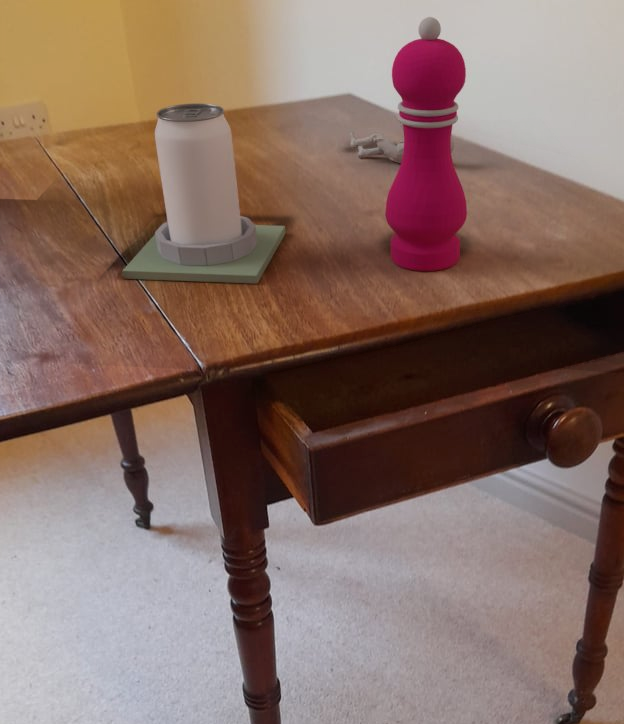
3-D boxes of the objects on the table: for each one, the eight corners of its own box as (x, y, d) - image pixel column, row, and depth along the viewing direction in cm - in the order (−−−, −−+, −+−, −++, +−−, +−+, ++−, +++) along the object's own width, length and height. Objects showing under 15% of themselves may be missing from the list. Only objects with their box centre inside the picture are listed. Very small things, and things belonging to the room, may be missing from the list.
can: (166, 261, 77) (143, 121, 71) (178, 234, 83) (159, 102, 76) (238, 260, 77) (223, 120, 71) (246, 233, 83) (233, 101, 76)
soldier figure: (369, 157, 109) (460, 131, 105) (371, 192, 108) (464, 167, 103) (342, 123, 102) (439, 94, 98) (344, 160, 101) (442, 132, 96)
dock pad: (123, 279, 76) (118, 252, 75) (166, 229, 86) (162, 204, 85) (257, 284, 75) (254, 256, 74) (285, 233, 85) (283, 208, 84)
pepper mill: (392, 241, 83) (392, 9, 72) (468, 245, 82) (479, 10, 71) (379, 271, 77) (376, 23, 66) (460, 276, 76) (471, 25, 65)
